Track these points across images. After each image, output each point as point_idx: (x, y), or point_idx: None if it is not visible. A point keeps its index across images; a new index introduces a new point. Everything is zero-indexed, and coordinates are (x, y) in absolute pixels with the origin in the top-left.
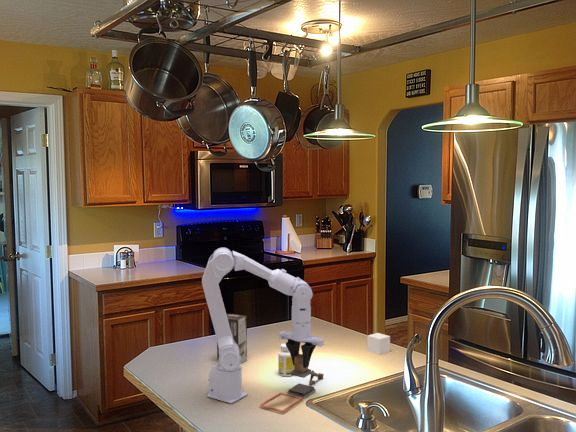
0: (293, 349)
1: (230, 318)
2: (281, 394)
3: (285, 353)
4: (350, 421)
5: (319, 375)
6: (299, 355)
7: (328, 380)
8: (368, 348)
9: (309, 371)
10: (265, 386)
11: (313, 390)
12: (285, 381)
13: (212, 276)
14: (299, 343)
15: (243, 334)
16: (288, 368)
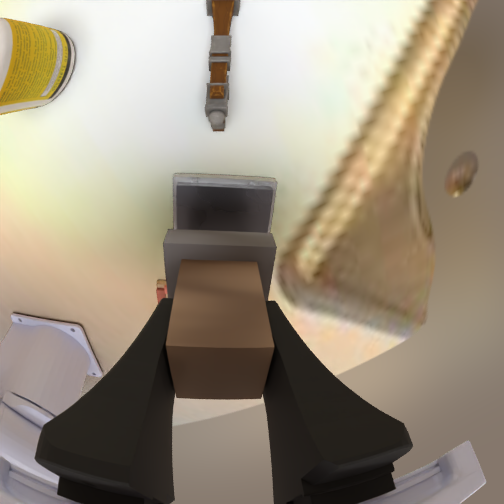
0: (169, 455)
1: None
2: (166, 291)
3: None
4: (419, 314)
5: (229, 24)
6: (194, 373)
7: (274, 13)
8: None
9: (271, 265)
10: (60, 241)
11: (274, 201)
12: (82, 144)
13: None
14: (144, 449)
15: None
16: (41, 90)
